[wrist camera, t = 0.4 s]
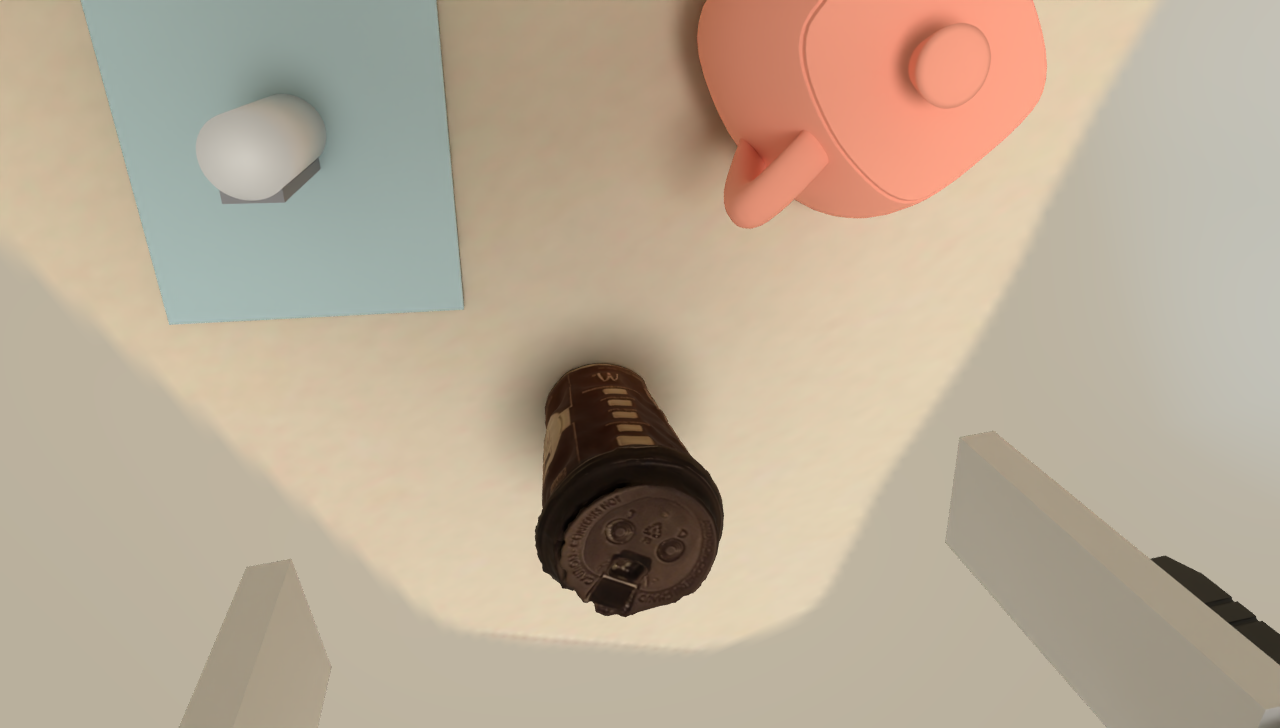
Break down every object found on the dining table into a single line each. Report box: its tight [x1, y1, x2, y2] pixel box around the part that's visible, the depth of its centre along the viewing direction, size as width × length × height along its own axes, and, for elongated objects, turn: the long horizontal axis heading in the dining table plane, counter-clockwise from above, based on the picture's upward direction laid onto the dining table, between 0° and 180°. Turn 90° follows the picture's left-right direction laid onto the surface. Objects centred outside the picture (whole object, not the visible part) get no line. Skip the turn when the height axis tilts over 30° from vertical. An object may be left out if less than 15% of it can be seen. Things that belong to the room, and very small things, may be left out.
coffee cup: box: [535, 364, 724, 617], centre depth 37 cm, size 9×8×13 cm
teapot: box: [697, 0, 1047, 228], centre depth 31 cm, size 13×20×12 cm, turn 130°
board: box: [81, 0, 464, 325], centre depth 30 cm, size 18×14×8 cm
